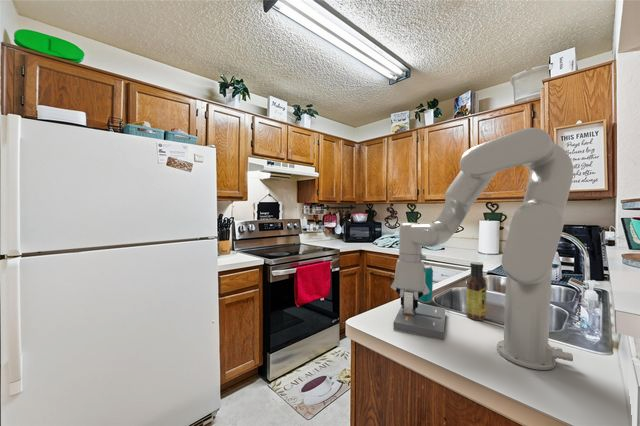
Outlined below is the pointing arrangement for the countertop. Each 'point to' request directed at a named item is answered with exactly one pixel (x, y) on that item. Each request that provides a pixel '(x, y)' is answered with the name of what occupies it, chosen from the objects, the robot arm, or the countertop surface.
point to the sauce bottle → (476, 293)
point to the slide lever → (408, 302)
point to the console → (422, 321)
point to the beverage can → (428, 284)
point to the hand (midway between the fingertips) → (409, 307)
